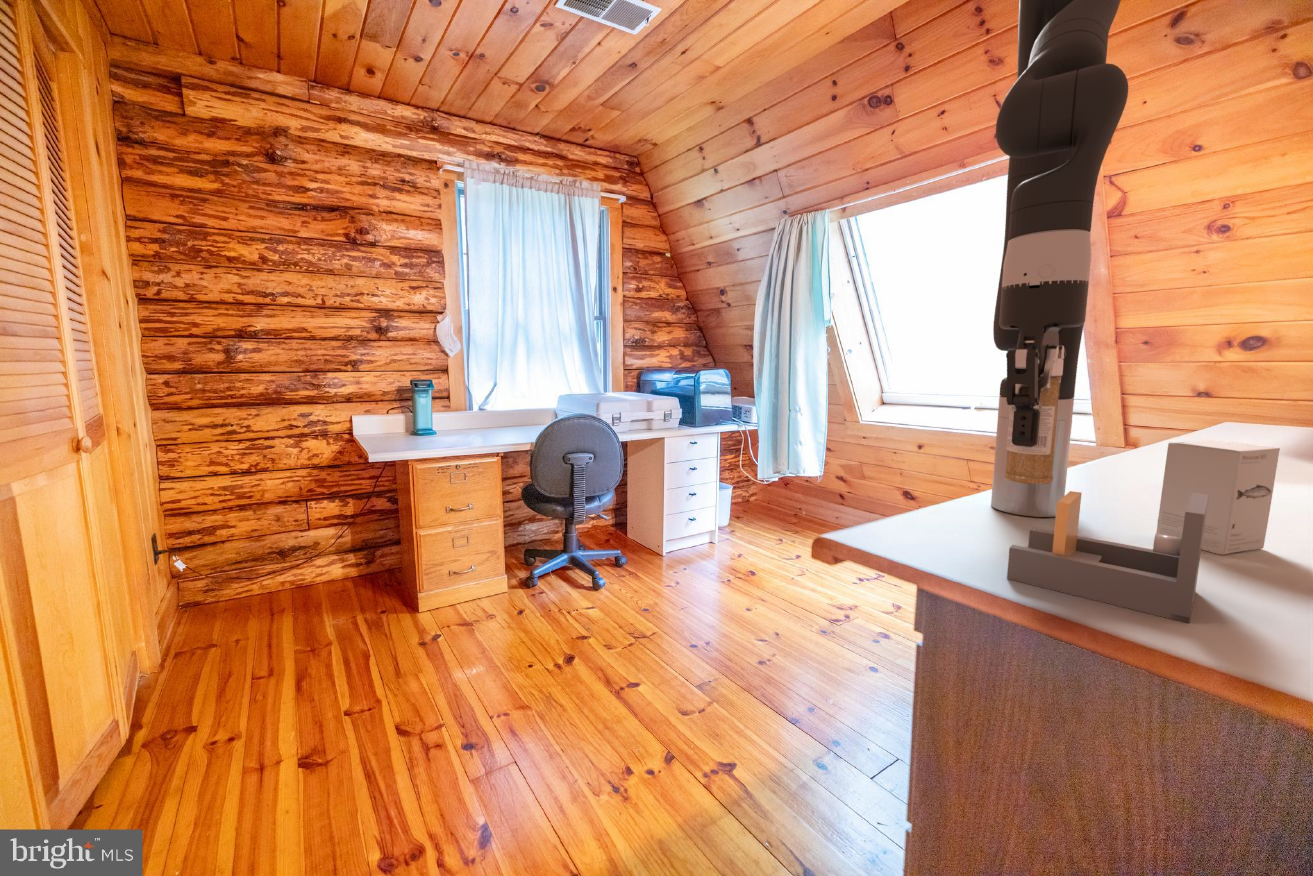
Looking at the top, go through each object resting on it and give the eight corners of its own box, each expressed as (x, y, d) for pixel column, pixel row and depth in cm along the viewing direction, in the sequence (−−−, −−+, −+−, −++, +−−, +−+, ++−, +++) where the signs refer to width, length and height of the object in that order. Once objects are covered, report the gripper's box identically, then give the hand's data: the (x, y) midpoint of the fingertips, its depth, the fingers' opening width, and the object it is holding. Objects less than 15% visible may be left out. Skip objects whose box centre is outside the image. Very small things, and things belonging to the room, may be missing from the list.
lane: (1029, 555, 66) (1037, 473, 64) (1195, 591, 56) (1208, 494, 54) (1006, 578, 59) (1014, 487, 58) (1189, 623, 49) (1204, 514, 48)
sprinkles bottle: (1056, 480, 61) (1068, 357, 59) (1047, 487, 58) (1058, 357, 56) (1008, 474, 64) (1018, 357, 62) (997, 481, 61) (1007, 358, 59)
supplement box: (1224, 556, 65) (1239, 450, 63) (1153, 537, 72) (1165, 441, 70) (1267, 550, 67) (1283, 446, 65) (1193, 531, 74) (1206, 438, 72)
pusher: (1063, 560, 62) (1070, 491, 61) (1101, 568, 60) (1109, 496, 59) (1049, 576, 58) (1057, 502, 57) (1090, 586, 55) (1099, 508, 54)
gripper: (1020, 290, 66) (1009, 433, 68) (982, 280, 56) (970, 447, 58) (1100, 284, 60) (1085, 439, 63) (1074, 271, 51) (1056, 455, 53)
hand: (1030, 442), depth 61 cm, fingers closed on sprinkles bottle, 4 cm apart
